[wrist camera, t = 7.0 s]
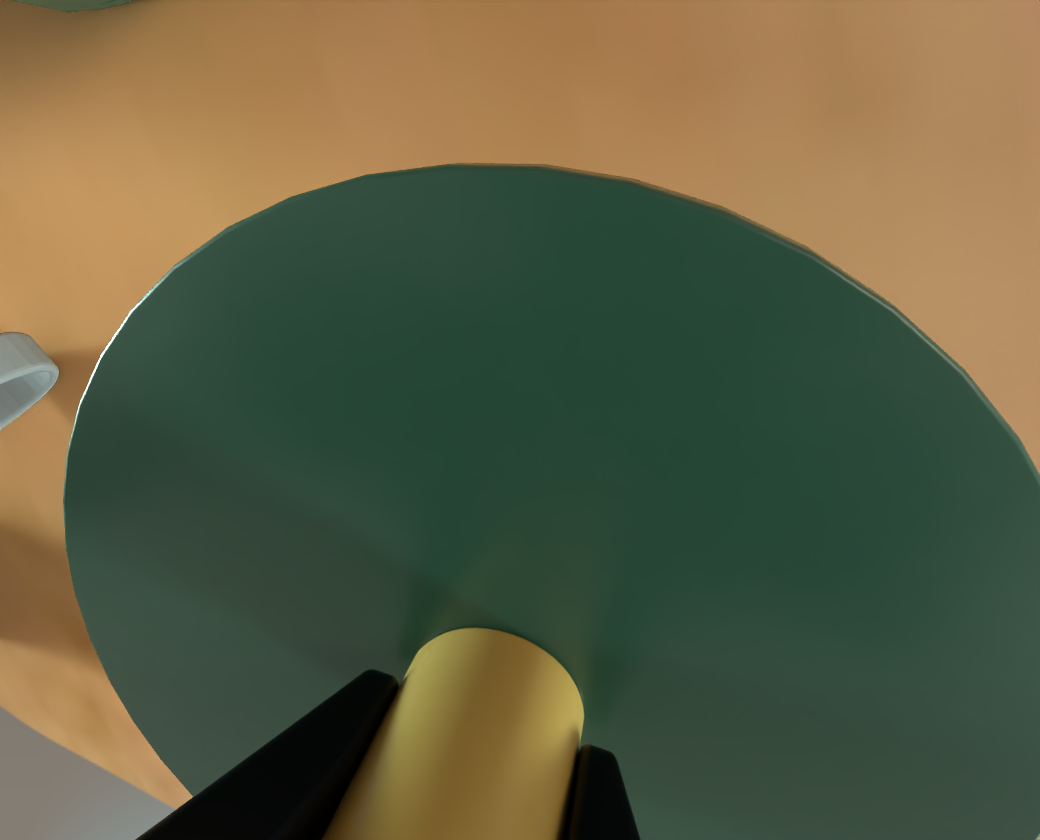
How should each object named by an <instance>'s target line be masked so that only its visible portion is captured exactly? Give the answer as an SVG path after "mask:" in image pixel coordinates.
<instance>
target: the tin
mask: <svg viewBox="0 0 1040 840" xmlns="http://www.w3.org/2000/svg"><path fill="white" fill-rule="evenodd" d="M13 1H18V2H23V3H27V4H32V5H37V6H42V7H47V8H52V9H56V10H61V11H66V12H77V11H80V10H92V9H103V8H108V7H112V6H116V5H121V4H125V3H128V2H130V1H133V0H13Z"/></svg>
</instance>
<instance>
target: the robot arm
mask: <svg viewBox="0 0 1040 840" xmlns="http://www.w3.org/2000/svg"><path fill="white" fill-rule="evenodd" d="M398 687H399V682H398V679H397V678H396V677H395V676H392V675H390V674H387V673H384V672H381V671H378V670H375V669H369V670H366V671H365V672H363V673H362V674H360V675H359V676H358V677H356V678H355V679H354V680H352V681H351V682H349V683H348V684H347V685H345V686H344V687H343V688H341V689H340V690H339V691H337V692H336V693H334V694H333V695H332V696H330V697H329V698H328V699H326V700H325V701H324V702H322V703H321V704H320V705H318V706H317V707H315V708H314V709H313V710H311V711H310V712H309V713H307V714H306V715H305V716H303V717H302V718H300V719H299V720H298V721H296V722H295V723H294V724H292V725H291V726H290V727H288V728H287V729H285V730H284V731H283V732H281V733H280V734H279V735H277V736H276V737H275V738H273V739H272V740H270V741H269V742H268V743H266V744H265V745H264V746H262V747H261V748H260V749H258V750H257V751H256V752H254V753H253V754H251V755H250V756H249V757H247V758H246V759H245V760H243V761H242V762H241V763H239V764H238V765H236V766H235V767H234V768H232V769H231V770H230V771H228V772H227V773H226V774H224V775H223V776H221V777H220V778H219V779H217V780H216V781H215V782H213V783H212V784H211V785H209V786H208V787H206V788H205V789H204V790H202V791H201V792H200V793H198V794H197V795H196V796H194V797H193V798H191V799H190V800H189V801H187V802H186V803H185V804H183V805H182V806H181V807H179V808H178V809H177V810H175V811H174V812H172V813H171V814H170V815H168V816H167V817H166V818H165V819H163V820H162V821H160V822H159V823H158V824H156V825H155V826H153V827H152V828H151V829H149V830H148V831H147V832H145V833H144V834H142V835H141V836H140V837H138V838H137V839H136V840H320V839H321V837H322V835H323V833H324V831H325V829H326V827H327V826H328V824H329V822H330V820H331V818H332V816H333V814H334V812H335V810H336V808H337V806H338V804H339V802H340V800H341V798H342V796H343V795H344V793H345V791H346V789H347V787H348V785H349V783H350V781H351V779H352V777H353V775H354V773H355V771H356V769H357V767H358V765H359V763H360V762H361V760H362V758H363V756H364V754H365V752H366V750H367V748H368V746H369V744H370V742H371V740H372V738H373V736H374V734H375V732H376V731H377V729H378V727H379V725H380V723H381V721H382V719H383V717H384V715H385V713H386V711H387V709H388V707H389V705H390V703H391V701H392V699H393V698H394V696H395V694H396V692H397V690H398ZM564 840H641V839H640V836H639V833H638V829H637V826H636V822H635V819H634V816H633V812H632V809H631V805H630V802H629V799H628V795H627V792H626V788H625V785H624V782H623V778H622V775H621V771H620V768H619V765H618V762H617V759H616V757H615V755H614V754H613V753H612V752H610V751H608V750H605V749H602V748H599V747H596V746H593V745H591V744H583V745H582V746H581V748H580V750H579V753H578V757H577V763H576V769H575V775H574V781H573V787H572V793H571V799H570V805H569V811H568V817H567V823H566V829H565V835H564Z"/></svg>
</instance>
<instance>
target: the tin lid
mask: <svg viewBox="0 0 1040 840" xmlns="http://www.w3.org/2000/svg"><path fill="white" fill-rule="evenodd" d="M63 508H64V524H65V540H66V551H67V556H68V560H69V565H70V570H71V575H72V580H73V585H74V590H75V595H76V598H77V601H78V604H79V607H80V610H81V613H82V616H83V619H84V622H85V625H86V628H87V631H88V634H89V637H90V640H91V642H92V644H93V646H94V648H95V651H96V653H97V655H98V657H99V659H100V661H101V664H102V666H103V668H104V670H105V672H106V674H107V677H108V679H109V681H110V683H111V684H112V686H113V688H114V690H115V691H116V693H117V695H118V696H119V698H120V700H121V701H122V703H123V705H124V706H125V708H126V710H127V711H128V713H129V715H130V717H131V718H132V720H133V722H134V723H135V724H136V726H137V727H138V728H139V730H140V731H141V733H142V734H143V735H144V737H145V738H146V740H147V741H148V742H149V744H150V745H151V746H152V748H153V749H154V751H155V752H156V753H157V755H158V756H159V757H160V759H161V760H162V761H163V762H164V763H165V765H166V766H167V767H168V768H169V769H170V770H171V772H172V773H173V774H174V775H175V776H176V777H177V778H178V780H179V781H180V782H181V783H182V784H183V785H184V787H185V788H186V789H187V790H188V791H189V792H190V793H191V795H192V796H193V797H194V796H196V795H197V794H198V793H200V792H201V791H202V790H204V789H205V788H206V787H208V786H209V785H211V784H212V783H213V782H215V781H216V780H217V779H219V778H220V777H221V776H223V775H224V774H226V773H227V772H228V771H230V770H231V769H232V768H234V767H235V766H236V765H238V764H239V763H241V762H242V761H243V760H245V759H246V758H247V757H249V756H250V755H251V754H253V753H254V752H256V751H257V750H258V749H260V748H261V747H262V746H264V745H265V744H266V743H268V742H269V741H270V740H272V739H273V738H275V737H276V736H277V735H279V734H280V733H281V732H283V731H284V730H285V729H287V728H288V727H290V726H291V725H292V724H294V723H295V722H296V721H298V720H299V719H300V718H302V717H303V716H305V715H306V714H307V713H309V712H310V711H311V710H313V709H314V708H315V707H317V706H318V705H320V704H321V703H322V702H324V701H325V700H326V699H328V698H329V697H330V696H332V695H333V694H334V693H336V692H337V691H339V690H340V689H341V688H343V687H344V686H345V685H347V684H348V683H349V682H351V681H352V680H354V679H355V678H356V677H358V676H359V675H360V674H362V673H363V672H365V671H366V670H369V669H375V670H378V671H381V672H384V673H387V674H390V675H392V676H395V677H396V678H397V679H398V682H399V687H398V690H397V692H396V694H395V696H394V698H393V699H392V701H391V703H390V705H389V707H388V709H387V711H386V713H385V715H384V717H383V719H382V721H381V723H380V725H379V727H378V729H377V731H376V732H375V734H374V736H373V738H372V740H371V742H370V744H369V746H368V748H367V750H366V752H365V754H364V756H363V758H362V760H361V762H360V763H359V765H358V767H357V769H356V771H355V773H354V775H353V777H352V779H351V781H350V783H349V785H348V787H347V789H346V791H345V793H344V795H343V796H342V798H341V800H340V802H339V804H338V806H337V808H336V810H335V812H334V814H333V816H332V818H331V820H330V822H329V824H328V826H327V827H326V829H325V831H324V833H323V835H322V837H321V839H320V840H564V835H565V829H566V823H567V817H568V811H569V805H570V799H571V793H572V787H573V781H574V775H575V769H576V763H577V757H578V753H579V750H580V748H581V746H582V745H583V744H591V745H593V746H596V747H599V748H602V749H605V750H608V751H610V752H612V753H613V754H614V755H615V757H616V759H617V762H618V765H619V768H620V771H621V775H622V778H623V782H624V785H625V788H626V792H627V795H628V799H629V802H630V805H631V809H632V812H633V816H634V819H635V822H636V826H637V829H638V833H639V836H640V839H641V840H1037V839H1038V838H1039V837H1040V474H1039V472H1038V471H1037V469H1036V467H1035V465H1034V463H1033V462H1032V460H1031V458H1030V456H1029V454H1028V453H1027V451H1026V449H1025V447H1024V445H1023V444H1022V442H1021V440H1020V438H1019V437H1018V436H1017V435H1016V433H1015V432H1014V431H1013V430H1012V428H1011V427H1010V426H1009V425H1008V423H1007V422H1006V421H1005V420H1004V418H1003V417H1002V416H1001V415H1000V413H999V412H998V411H997V410H996V408H995V407H994V406H993V405H992V403H991V402H990V401H989V400H988V398H987V397H986V396H985V395H984V393H983V392H982V391H981V390H980V388H979V387H978V386H977V385H976V383H975V382H974V381H973V380H972V378H971V377H970V376H969V375H968V373H967V372H966V371H965V370H964V369H963V368H962V367H961V366H960V365H959V364H958V363H957V362H955V361H954V360H953V359H952V358H951V357H950V356H949V355H948V354H947V353H946V352H944V351H943V350H942V349H941V348H940V347H939V346H938V345H937V344H936V343H935V342H933V341H932V340H931V339H930V338H929V337H928V336H927V335H926V334H925V333H924V332H922V331H921V330H920V329H919V328H918V327H917V326H916V325H915V324H914V323H912V322H911V321H910V320H909V319H908V318H907V317H906V316H905V315H904V314H903V313H901V312H900V311H899V310H898V309H897V308H896V307H895V306H894V305H892V304H891V303H890V302H888V301H887V300H886V299H885V298H883V297H882V296H880V295H879V294H877V293H876V292H874V291H873V290H871V289H870V288H868V287H867V286H865V285H864V284H862V283H861V282H859V281H858V280H856V279H855V278H853V277H852V276H850V275H849V274H847V273H846V272H844V271H843V270H841V269H840V268H838V267H837V266H835V265H834V264H832V263H831V262H829V261H828V260H826V259H825V258H823V257H822V256H820V255H819V254H817V253H816V252H814V251H813V250H811V249H810V248H808V247H807V246H805V245H802V244H800V243H798V242H796V241H794V240H792V239H790V238H788V237H786V236H784V235H781V234H779V233H777V232H775V231H773V230H771V229H769V228H767V227H765V226H762V225H760V224H758V223H756V222H754V221H752V220H750V219H748V218H746V217H744V216H741V215H739V214H737V213H735V212H733V211H731V210H729V209H727V208H725V207H722V206H719V205H716V204H713V203H710V202H706V201H703V200H700V199H697V198H694V197H690V196H687V195H684V194H681V193H678V192H674V191H671V190H668V189H665V188H662V187H658V186H655V185H652V184H649V183H646V182H642V181H639V180H636V179H631V178H625V177H619V176H613V175H607V174H601V173H595V172H589V171H582V170H576V169H570V168H564V167H558V166H552V165H545V164H492V163H455V164H446V165H438V166H431V167H423V168H415V169H408V170H400V171H392V172H384V173H377V174H369V175H364V176H360V177H357V178H353V179H350V180H346V181H343V182H340V183H336V184H333V185H329V186H326V187H323V188H319V189H316V190H312V191H309V192H305V193H302V194H299V195H295V196H292V197H289V198H287V199H285V200H283V201H281V202H279V203H277V204H275V205H273V206H271V207H269V208H267V209H265V210H262V211H260V212H258V213H256V214H254V215H252V216H250V217H248V218H246V219H244V220H242V221H240V222H238V223H235V224H233V225H231V226H229V227H227V228H226V229H224V230H223V231H222V232H220V233H219V234H217V235H216V236H215V237H213V238H212V239H210V240H209V241H208V242H206V243H205V244H203V245H202V246H201V247H199V248H198V249H196V250H195V251H194V252H192V253H191V254H189V255H188V256H187V257H185V258H184V259H182V260H181V261H180V262H178V263H177V264H175V265H174V266H173V267H172V268H171V269H170V270H169V271H168V272H167V273H166V275H165V276H164V277H163V278H162V279H161V280H160V281H159V282H158V283H157V284H156V285H155V286H154V287H153V288H152V289H151V290H150V291H149V292H148V293H147V294H146V295H145V296H144V297H143V298H142V299H141V300H140V301H139V302H138V303H137V304H136V305H135V306H134V307H133V308H132V310H131V311H130V313H129V314H128V316H127V317H126V319H125V320H124V322H123V323H122V325H121V326H120V328H119V329H118V330H117V332H116V333H115V335H114V336H113V338H112V339H111V341H110V342H109V344H108V345H107V347H106V348H105V350H104V351H103V353H102V354H101V356H100V358H99V360H98V362H97V365H96V367H95V369H94V372H93V374H92V376H91V378H90V381H89V383H88V385H87V387H86V390H85V392H84V394H83V396H82V399H81V401H80V403H79V407H78V411H77V415H76V419H75V423H74V427H73V431H72V435H71V439H70V443H69V447H68V451H67V460H66V472H65V484H64V495H63Z"/></svg>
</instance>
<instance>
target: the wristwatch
mask: <svg viewBox="0 0 1040 840" xmlns="http://www.w3.org/2000/svg"><path fill="white" fill-rule="evenodd" d="M58 376H59V369H58V367H57V366H56V364H55V363H54V362H53V361H52V360H51V359H50V358H49V357H48V355H47V354H46V353H45V352H44V351H43V350H42V349H41V347H40V346H39V345H38V344H37V343H36V342H35V341H34V340H33V338H32V337H30V336H29V335H27V334H24V333H20V332H5V333H0V429H2V428H3V427H5V426H6V425H8V424H9V423H10V422H12V421H13V420H15V419H16V418H17V417H19V416H20V415H21V414H23V413H24V412H25V411H26V410H28V409H29V408H30V407H31V406H33V405H34V404H35V403H36V402H37V401H38V400H40V399H41V398H42V397H43V396H44V395H45V394H46V393H47V392H48V391H49V390H50V389H51V388H52V387H53V385H54V384H55V383H56V381H57V379H58Z"/></svg>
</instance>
